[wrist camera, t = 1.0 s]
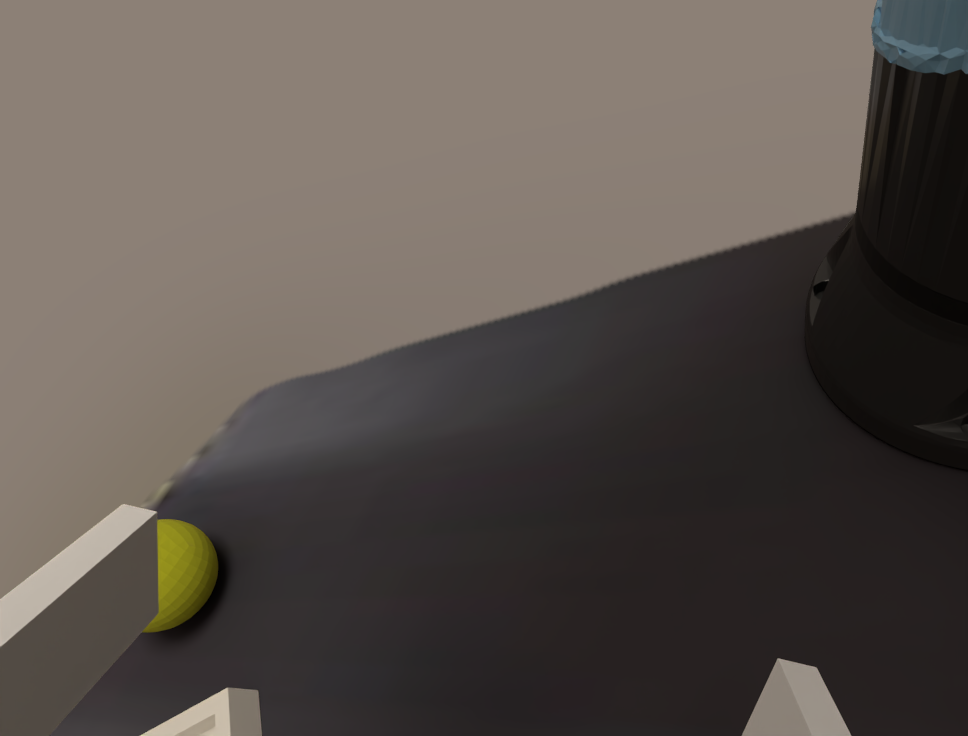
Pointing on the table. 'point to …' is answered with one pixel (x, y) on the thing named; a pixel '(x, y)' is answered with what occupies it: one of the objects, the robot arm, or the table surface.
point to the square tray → (217, 716)
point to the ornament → (182, 573)
